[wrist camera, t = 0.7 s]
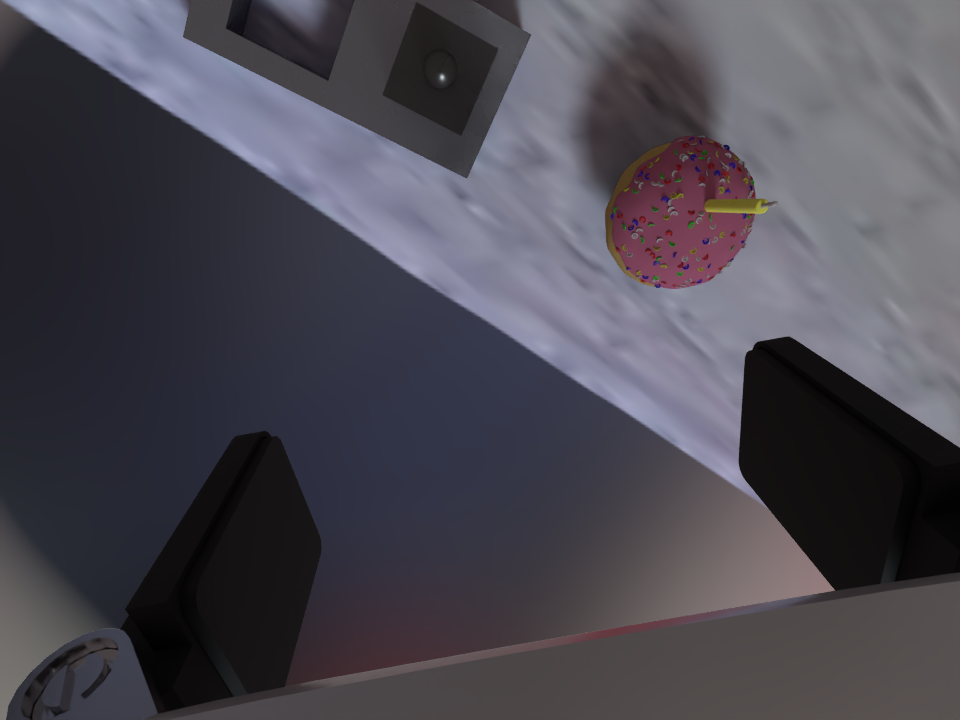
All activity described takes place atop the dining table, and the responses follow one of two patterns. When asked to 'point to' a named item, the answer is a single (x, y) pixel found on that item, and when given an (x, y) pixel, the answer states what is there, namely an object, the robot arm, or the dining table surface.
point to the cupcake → (681, 213)
